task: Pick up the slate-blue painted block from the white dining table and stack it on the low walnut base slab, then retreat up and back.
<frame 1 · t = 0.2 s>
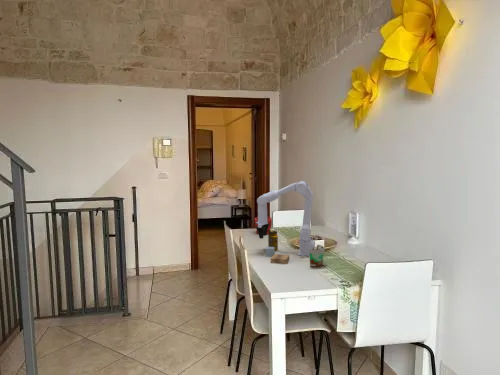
hand: (262, 236, 225), 10 cm above the table, fingers open, 7 cm apart
block: (270, 255, 219), on the table
plant pot: (263, 233, 279), on the table
base: (280, 261, 208), on the table
food container: (318, 265, 199), on the table
condiment: (271, 250, 232), on the table
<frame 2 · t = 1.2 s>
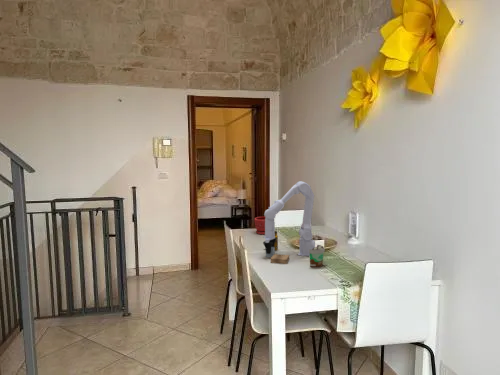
hand: (270, 251, 219), 2 cm above the table, fingers open, 7 cm apart
nothing on the table moved.
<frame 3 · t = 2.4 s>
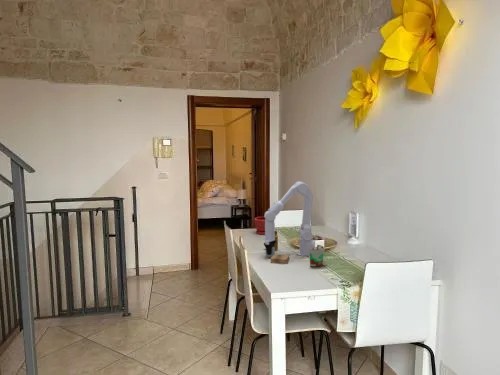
hand: (270, 253, 219), 1 cm above the table, fingers closed on block, 4 cm apart
block: (270, 255, 219), on the table, touching gripper
everything else where it was.
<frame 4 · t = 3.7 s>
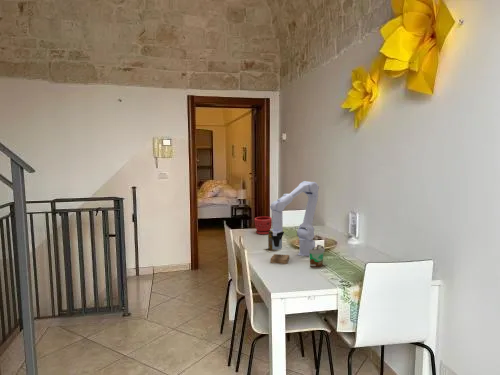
hand: (277, 245, 210), 8 cm above the table, fingers closed on block, 5 cm apart
block: (277, 248, 210), point 7 cm above the table, touching gripper
everything else where it was.
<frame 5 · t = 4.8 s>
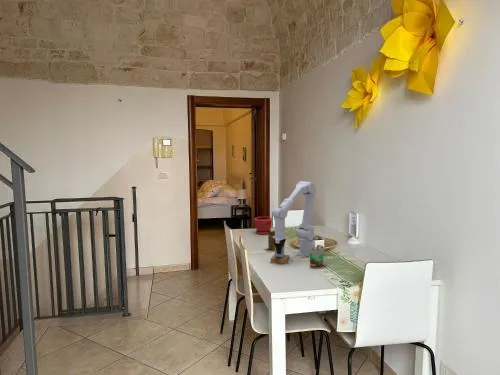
hand: (280, 252, 208), 5 cm above the table, fingers closed on block, 5 cm apart
block: (279, 255, 208), point 3 cm above the table, touching gripper
everything else where it was.
when the fingers open (5 cm above the table, at t = 5.4 s): block stays where it is, resting on base.
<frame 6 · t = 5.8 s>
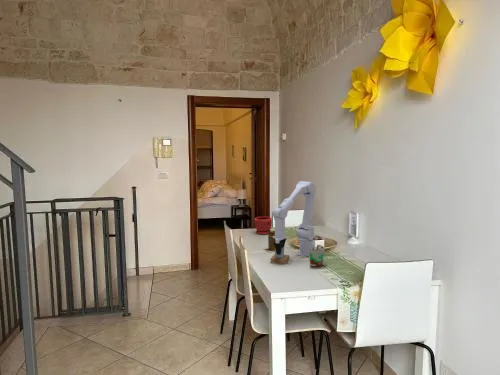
hand: (280, 252, 208), 5 cm above the table, fingers open, 7 cm apart
block: (279, 256, 208), point 2 cm above the table, touching base
everything else where it was.
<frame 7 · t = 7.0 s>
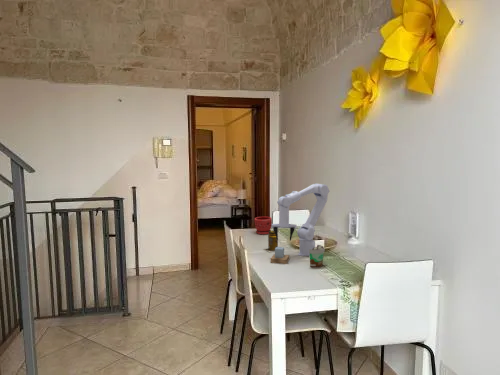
hand: (283, 240, 214), 10 cm above the table, fingers open, 7 cm apart
nothing on the table moved.
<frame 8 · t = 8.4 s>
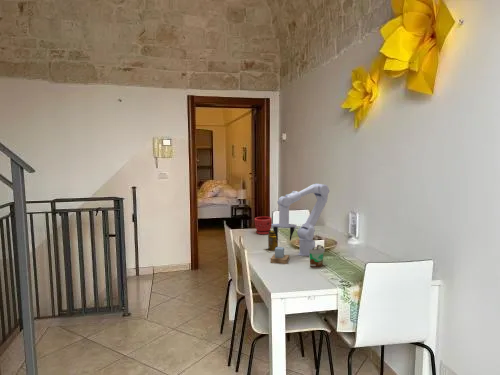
hand: (283, 240, 214), 10 cm above the table, fingers open, 7 cm apart
nothing on the table moved.
at the end: block inside the target area on the base (0.3 cm from its centre), point 2.5 cm above the base's base; block tilted 0°; the gripper is holding nothing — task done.
